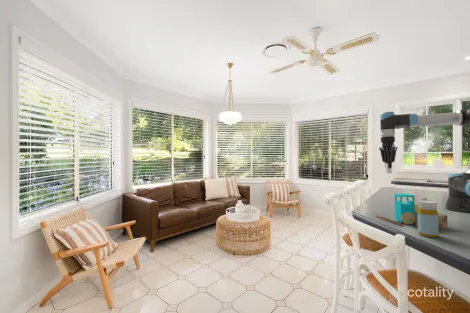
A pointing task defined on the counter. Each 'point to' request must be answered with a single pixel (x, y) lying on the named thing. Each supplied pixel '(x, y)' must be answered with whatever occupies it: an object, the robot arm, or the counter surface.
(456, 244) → the counter surface
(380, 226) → the counter surface
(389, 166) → the robot arm
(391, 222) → the rail far
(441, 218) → the buffer stop
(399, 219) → the toy train
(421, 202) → the bottle
